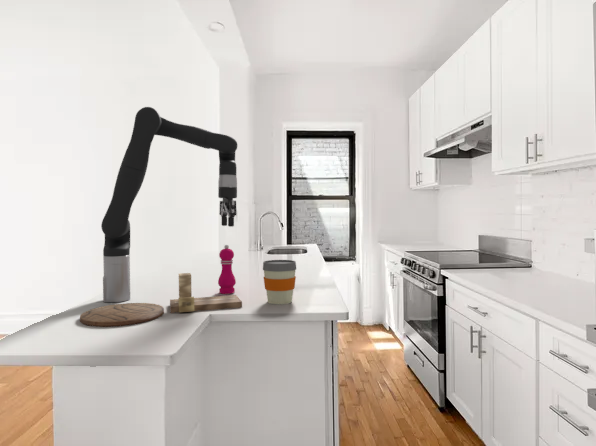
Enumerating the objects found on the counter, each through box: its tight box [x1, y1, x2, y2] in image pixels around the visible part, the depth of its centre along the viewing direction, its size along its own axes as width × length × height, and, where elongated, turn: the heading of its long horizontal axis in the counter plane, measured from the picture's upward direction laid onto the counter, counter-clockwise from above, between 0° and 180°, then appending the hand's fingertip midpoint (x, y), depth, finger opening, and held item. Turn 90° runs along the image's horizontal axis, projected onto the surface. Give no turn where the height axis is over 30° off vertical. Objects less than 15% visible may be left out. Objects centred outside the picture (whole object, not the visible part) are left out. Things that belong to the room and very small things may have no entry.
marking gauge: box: [177, 272, 195, 313], centre depth 143 cm, size 5×13×11 cm, turn 18°
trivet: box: [79, 302, 165, 328], centre depth 133 cm, size 25×25×2 cm
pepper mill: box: [217, 244, 237, 295], centre depth 171 cm, size 7×7×20 cm
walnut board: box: [169, 294, 243, 314], centre depth 147 cm, size 24×12×2 cm, turn 108°
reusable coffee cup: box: [262, 259, 297, 305], centre depth 153 cm, size 12×13×15 cm
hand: (227, 226), depth 168 cm, fingers open, 8 cm apart
